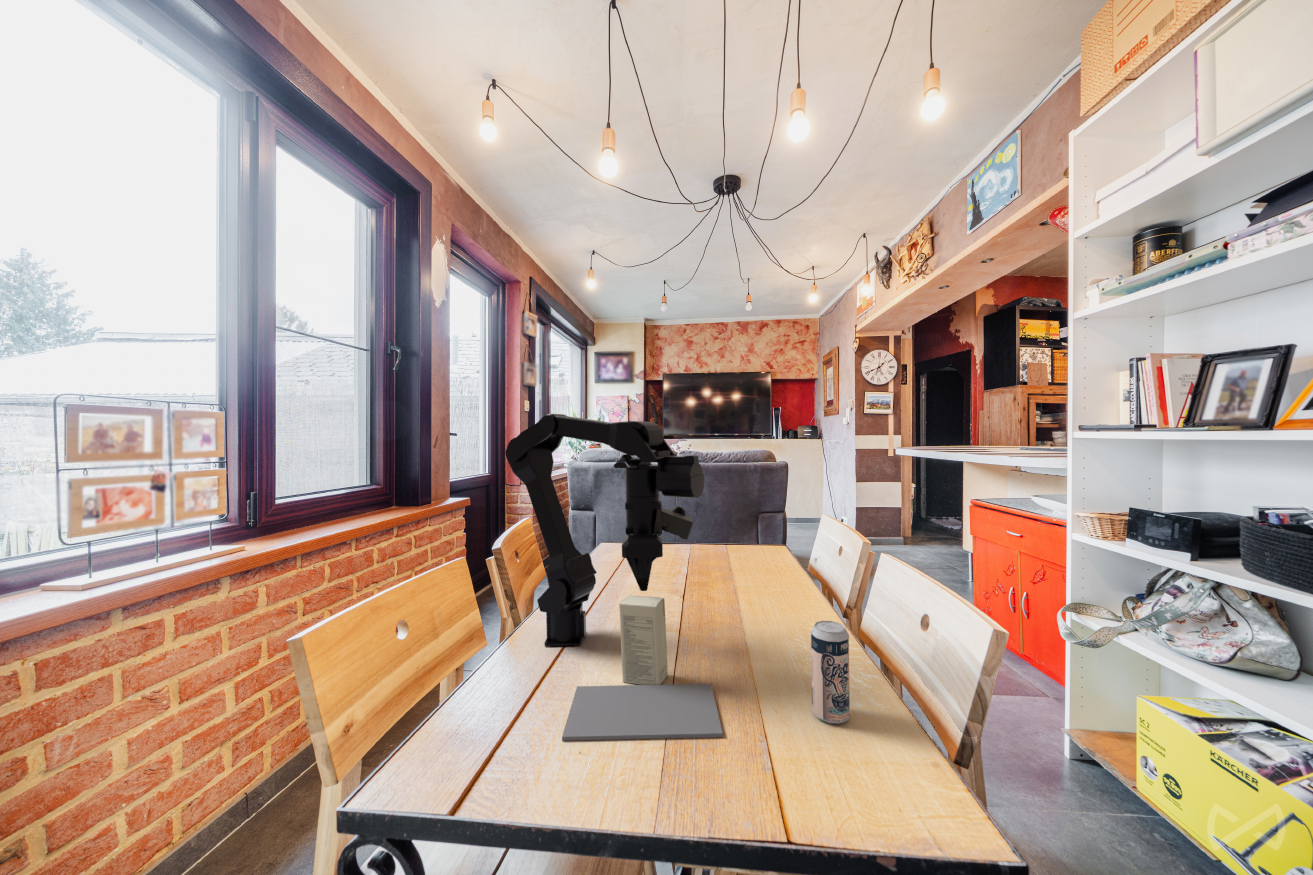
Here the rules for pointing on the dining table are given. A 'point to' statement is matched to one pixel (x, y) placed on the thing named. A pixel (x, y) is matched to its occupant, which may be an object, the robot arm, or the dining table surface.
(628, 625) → the skincare box
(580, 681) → the dining table surface
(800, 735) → the dining table surface
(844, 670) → the beer can
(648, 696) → the mat
